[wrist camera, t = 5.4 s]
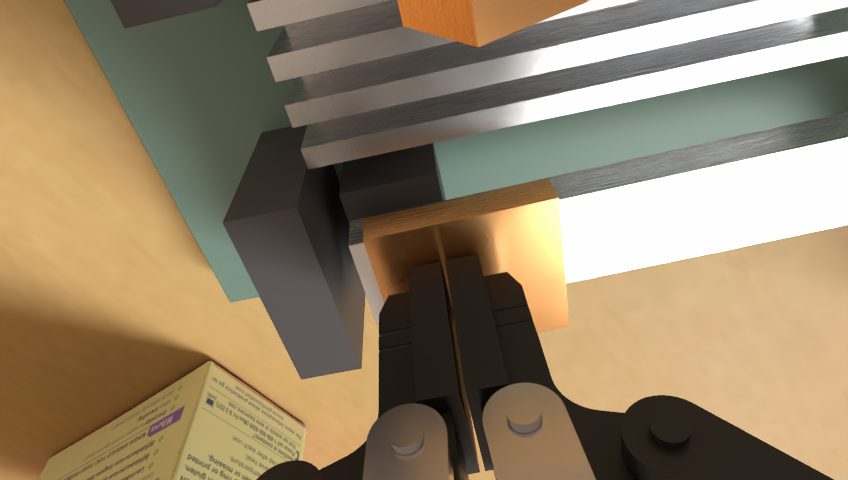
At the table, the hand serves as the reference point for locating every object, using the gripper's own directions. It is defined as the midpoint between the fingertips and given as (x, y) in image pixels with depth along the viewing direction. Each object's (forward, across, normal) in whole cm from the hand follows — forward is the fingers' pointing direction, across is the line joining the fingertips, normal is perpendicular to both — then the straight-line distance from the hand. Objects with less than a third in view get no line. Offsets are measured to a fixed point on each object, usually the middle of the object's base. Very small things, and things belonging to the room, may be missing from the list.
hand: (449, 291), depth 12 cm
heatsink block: (+5, -4, -4) cm, 8 cm away
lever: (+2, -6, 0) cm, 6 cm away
